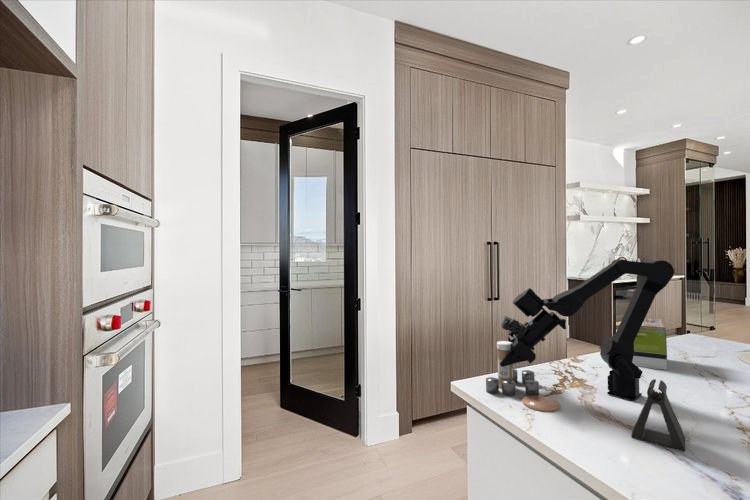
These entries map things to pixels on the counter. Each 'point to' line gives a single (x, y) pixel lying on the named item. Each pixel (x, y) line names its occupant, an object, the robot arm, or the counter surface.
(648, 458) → the counter surface
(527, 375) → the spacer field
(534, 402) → the coaster
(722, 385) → the counter surface
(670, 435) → the phone stand
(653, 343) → the tea box
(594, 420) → the counter surface
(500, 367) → the sprinkles bottle
